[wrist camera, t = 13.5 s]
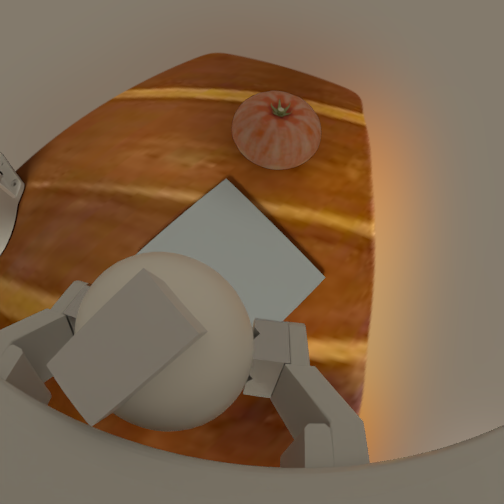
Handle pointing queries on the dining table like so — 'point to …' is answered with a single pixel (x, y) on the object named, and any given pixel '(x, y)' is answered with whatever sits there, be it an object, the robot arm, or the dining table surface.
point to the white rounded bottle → (157, 344)
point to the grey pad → (242, 252)
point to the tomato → (276, 130)
